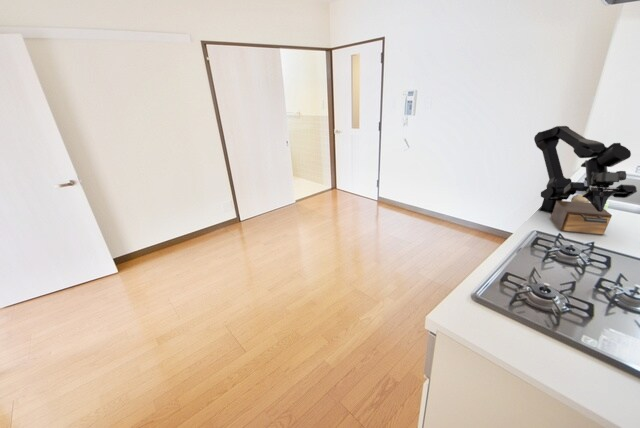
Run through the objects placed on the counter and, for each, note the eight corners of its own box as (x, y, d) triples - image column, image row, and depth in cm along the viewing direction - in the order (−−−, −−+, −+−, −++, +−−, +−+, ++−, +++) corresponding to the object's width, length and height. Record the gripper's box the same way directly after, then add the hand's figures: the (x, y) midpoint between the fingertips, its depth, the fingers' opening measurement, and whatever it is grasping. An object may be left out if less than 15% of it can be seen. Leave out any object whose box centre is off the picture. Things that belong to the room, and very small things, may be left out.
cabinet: (603, 235, 108) (612, 215, 104) (560, 230, 112) (567, 211, 109) (589, 222, 117) (596, 203, 114) (550, 218, 122) (556, 200, 118)
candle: (568, 218, 122) (576, 196, 117) (564, 212, 126) (571, 192, 122) (584, 219, 120) (593, 198, 115) (579, 214, 124) (587, 193, 120)
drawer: (610, 240, 102) (619, 220, 99) (569, 236, 107) (576, 217, 103) (591, 222, 115) (598, 204, 112) (554, 219, 120) (560, 201, 116)
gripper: (577, 160, 101) (580, 200, 96) (646, 162, 94) (652, 205, 90) (562, 175, 111) (564, 211, 106) (623, 177, 104) (628, 216, 100)
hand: (600, 211), depth 100 cm, fingers closed
